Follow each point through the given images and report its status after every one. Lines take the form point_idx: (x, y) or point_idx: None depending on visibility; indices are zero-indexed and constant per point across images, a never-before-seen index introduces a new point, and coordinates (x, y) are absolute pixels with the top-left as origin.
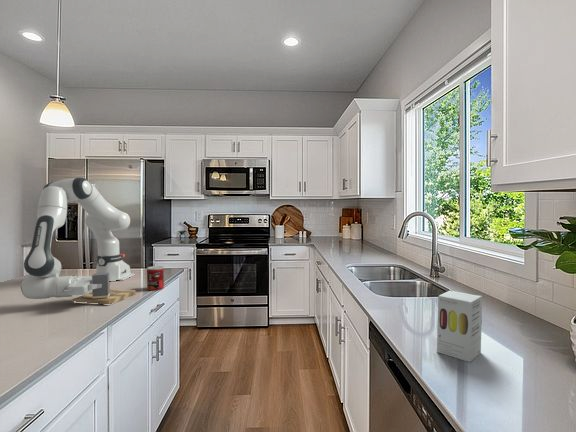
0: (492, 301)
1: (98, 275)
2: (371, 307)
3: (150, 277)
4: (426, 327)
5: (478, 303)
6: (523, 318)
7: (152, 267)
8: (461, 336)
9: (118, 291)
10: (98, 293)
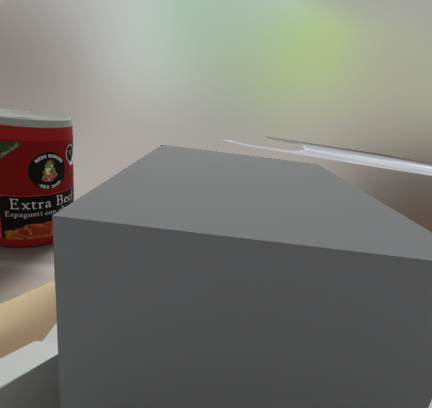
0: (320, 145)
1: (370, 206)
2: (340, 160)
3: (51, 172)
4: (401, 166)
5: None
6: (365, 152)
7: None
8: None
9: (6, 345)
10: None
